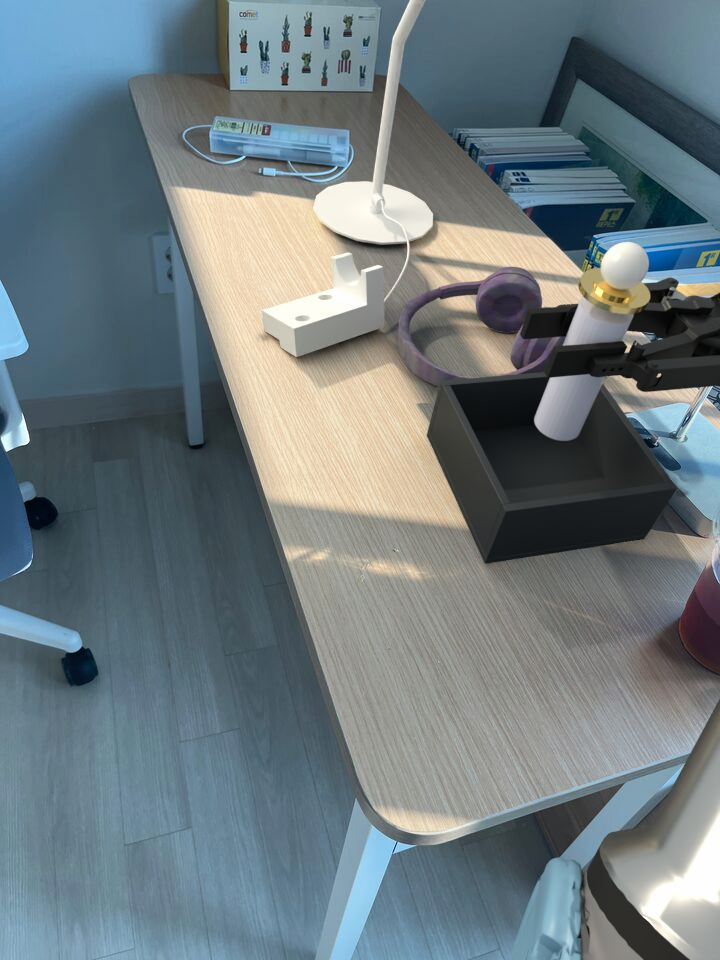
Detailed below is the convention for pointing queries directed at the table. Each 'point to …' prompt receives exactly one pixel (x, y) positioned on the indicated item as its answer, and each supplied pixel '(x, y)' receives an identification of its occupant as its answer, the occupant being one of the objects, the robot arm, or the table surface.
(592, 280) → the perfume bottle
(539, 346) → the headphones
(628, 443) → the bin
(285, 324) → the bracket
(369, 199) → the desk lamp
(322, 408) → the table surface
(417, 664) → the table surface
